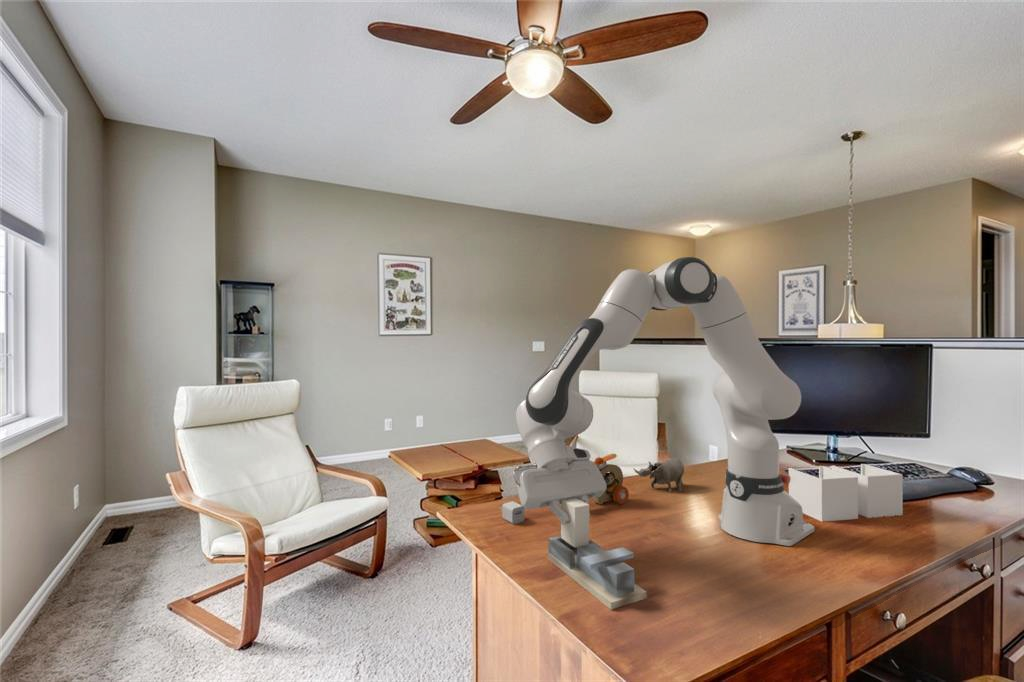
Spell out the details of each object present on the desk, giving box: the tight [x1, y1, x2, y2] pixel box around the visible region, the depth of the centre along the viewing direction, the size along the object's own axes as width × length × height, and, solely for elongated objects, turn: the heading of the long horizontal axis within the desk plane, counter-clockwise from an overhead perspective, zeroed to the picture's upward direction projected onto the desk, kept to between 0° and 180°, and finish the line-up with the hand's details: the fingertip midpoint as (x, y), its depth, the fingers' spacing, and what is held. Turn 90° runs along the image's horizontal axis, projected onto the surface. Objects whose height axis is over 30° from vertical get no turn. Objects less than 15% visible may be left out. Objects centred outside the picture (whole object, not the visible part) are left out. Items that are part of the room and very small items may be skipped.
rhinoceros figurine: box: [633, 457, 685, 493], centre depth 145 cm, size 8×14×15 cm
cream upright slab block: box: [560, 498, 590, 547], centre depth 96 cm, size 4×5×8 cm
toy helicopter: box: [593, 453, 630, 505], centre depth 131 cm, size 8×21×14 cm, turn 122°
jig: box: [546, 535, 648, 611], centre depth 90 cm, size 10×21×6 cm, turn 27°
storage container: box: [788, 463, 904, 523], centre depth 126 cm, size 25×11×11 cm, turn 101°
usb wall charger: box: [498, 500, 526, 525], centre depth 120 cm, size 4×7×4 cm, turn 37°
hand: (576, 521), depth 95 cm, fingers closed on cream upright slab block, 3 cm apart
